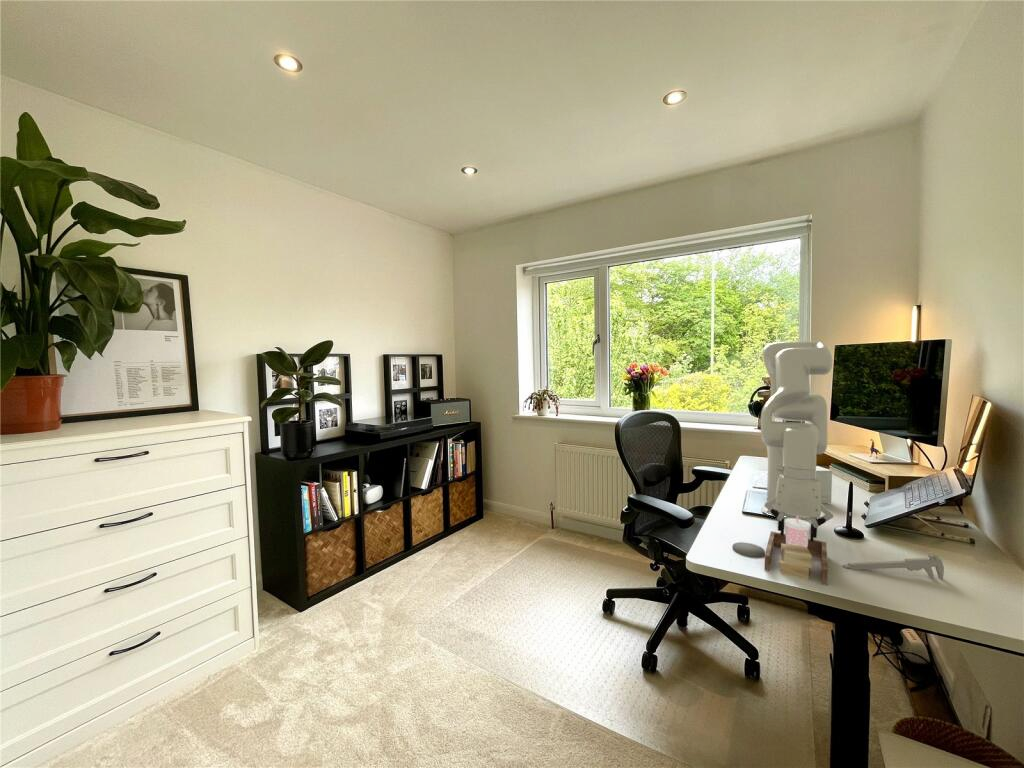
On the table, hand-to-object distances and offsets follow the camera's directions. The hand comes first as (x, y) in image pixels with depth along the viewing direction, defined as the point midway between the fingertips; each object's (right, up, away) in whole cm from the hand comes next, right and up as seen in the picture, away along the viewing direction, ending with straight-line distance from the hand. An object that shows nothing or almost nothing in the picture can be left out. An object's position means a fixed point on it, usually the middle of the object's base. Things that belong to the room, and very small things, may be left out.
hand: (796, 536), depth 115 cm
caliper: (+18, -6, -9) cm, 21 cm away
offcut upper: (-6, -4, -8) cm, 10 cm away
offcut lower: (-6, -7, -8) cm, 12 cm away
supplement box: (+37, -3, +44) cm, 58 cm away
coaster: (-11, -6, +4) cm, 13 cm away
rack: (-3, -6, -3) cm, 7 cm away
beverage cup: (0, -5, 0) cm, 5 cm away
